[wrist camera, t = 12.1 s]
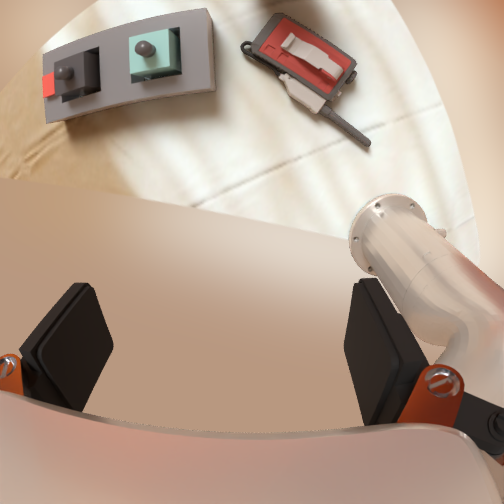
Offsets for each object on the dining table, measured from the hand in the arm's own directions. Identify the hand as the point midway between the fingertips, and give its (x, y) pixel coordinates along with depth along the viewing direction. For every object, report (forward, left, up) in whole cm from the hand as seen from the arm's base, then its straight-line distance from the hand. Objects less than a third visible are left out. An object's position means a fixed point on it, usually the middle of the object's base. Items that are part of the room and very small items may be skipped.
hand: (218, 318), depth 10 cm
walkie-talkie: (-10, -11, -31) cm, 34 cm away
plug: (+9, -15, -30) cm, 34 cm away
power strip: (+14, -15, -30) cm, 36 cm away
